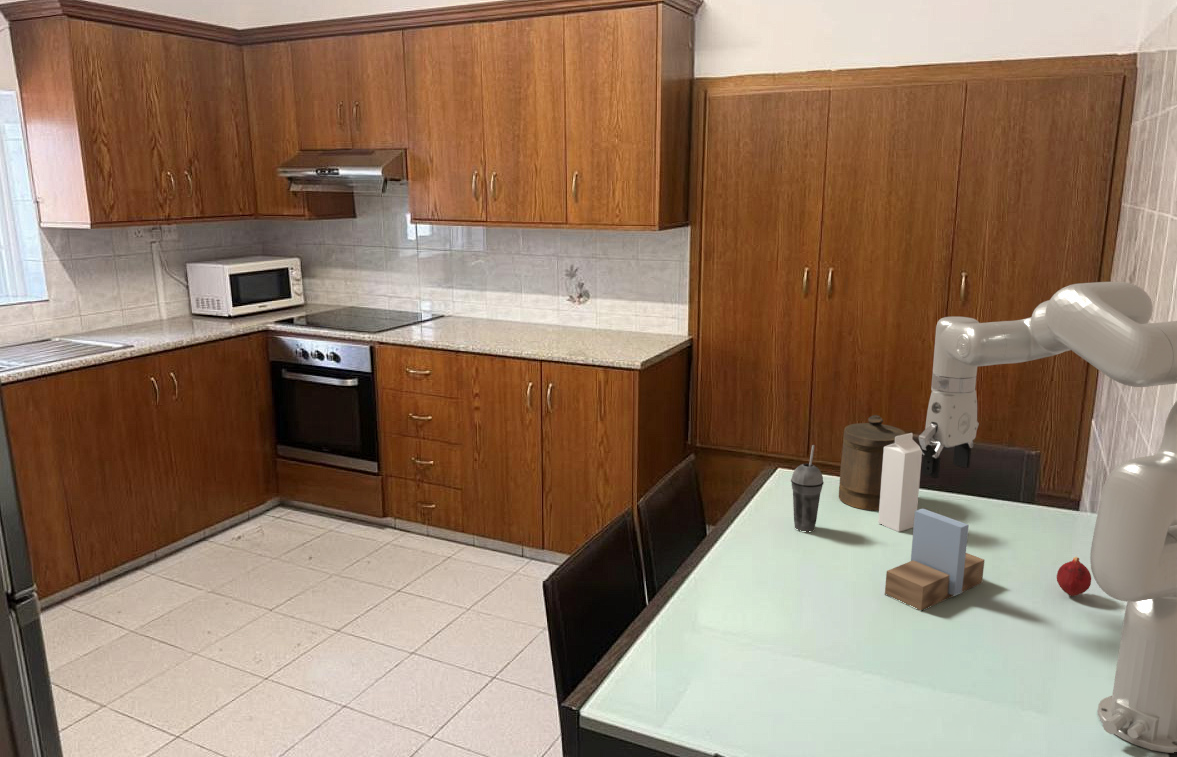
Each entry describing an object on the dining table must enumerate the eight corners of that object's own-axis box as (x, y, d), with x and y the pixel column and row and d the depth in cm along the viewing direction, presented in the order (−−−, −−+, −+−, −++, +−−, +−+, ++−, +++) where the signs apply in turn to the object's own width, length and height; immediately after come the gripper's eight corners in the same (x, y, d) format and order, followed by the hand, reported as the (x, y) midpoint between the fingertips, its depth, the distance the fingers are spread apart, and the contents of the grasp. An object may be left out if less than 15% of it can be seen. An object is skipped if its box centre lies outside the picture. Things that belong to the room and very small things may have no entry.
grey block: (954, 596, 163) (961, 527, 160) (909, 576, 172) (914, 510, 168) (961, 592, 165) (968, 524, 162) (916, 573, 173) (922, 508, 170)
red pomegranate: (1093, 604, 162) (1098, 565, 160) (1060, 601, 163) (1065, 563, 161) (1082, 590, 168) (1087, 552, 166) (1050, 587, 169) (1055, 550, 167)
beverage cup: (781, 525, 200) (785, 443, 195) (807, 520, 202) (811, 439, 198) (802, 537, 193) (806, 452, 188) (827, 531, 196) (832, 448, 191)
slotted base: (920, 611, 160) (923, 586, 159) (884, 594, 166) (886, 570, 165) (982, 582, 171) (984, 559, 170) (945, 568, 177) (948, 545, 176)
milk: (877, 523, 200) (883, 433, 195) (895, 518, 203) (901, 429, 198) (899, 532, 195) (905, 440, 190) (916, 526, 198) (923, 435, 193)
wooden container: (913, 506, 211) (920, 420, 206) (864, 514, 206) (870, 427, 201) (873, 486, 224) (879, 405, 219) (826, 494, 219) (831, 411, 214)
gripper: (943, 394, 151) (936, 486, 155) (998, 381, 161) (990, 468, 164) (907, 386, 157) (900, 475, 161) (962, 374, 167) (954, 458, 170)
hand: (946, 471), depth 163 cm, fingers open, 9 cm apart
